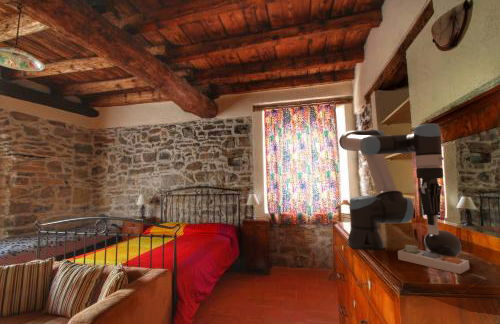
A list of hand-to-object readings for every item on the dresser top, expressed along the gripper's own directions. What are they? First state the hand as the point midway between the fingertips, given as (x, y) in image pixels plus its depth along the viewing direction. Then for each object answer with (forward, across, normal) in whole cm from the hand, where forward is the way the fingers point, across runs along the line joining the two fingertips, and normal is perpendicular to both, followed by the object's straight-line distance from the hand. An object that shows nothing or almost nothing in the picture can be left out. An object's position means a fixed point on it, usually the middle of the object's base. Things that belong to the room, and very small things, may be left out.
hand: (433, 233), depth 81 cm
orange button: (+9, -1, -5) cm, 11 cm away
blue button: (+9, -1, +1) cm, 9 cm away
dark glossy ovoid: (+7, +15, +1) cm, 16 cm away
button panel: (+11, -1, +1) cm, 11 cm away
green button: (+9, -1, +7) cm, 11 cm away
